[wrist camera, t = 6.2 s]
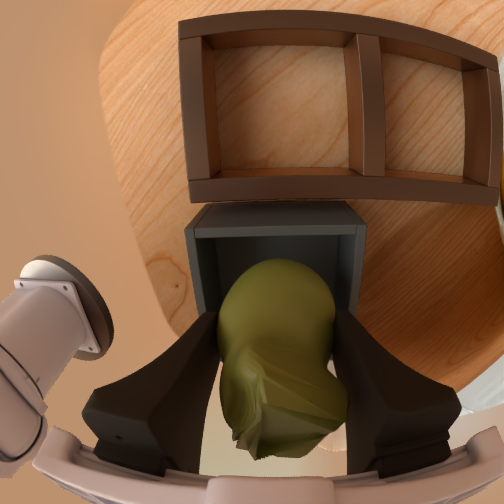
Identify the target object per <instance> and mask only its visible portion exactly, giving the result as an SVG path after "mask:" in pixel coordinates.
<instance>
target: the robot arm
mask: <svg viewBox="0 0 504 504" xmlns="http://www.w3.org/2000/svg"><path fill="white" fill-rule="evenodd" d="M14 284H15V287H16V290H14V292H12V293H11V294H10V295H9V296H8V297H6V299H4V300H3V301H2V302H1V303H0V478H12V477H13V475H14V474H15V473H16V472H17V470H18V469H19V468H20V467H21V466H23V465H24V464H25V463H26V462H28V461H30V460H32V459H33V458H34V457H35V459H34V461H33V463H32V465H33V467H35V468H36V469H37V470H38V471H40V472H41V473H42V474H43V475H45V476H46V477H47V478H49V479H50V480H51V481H53V482H54V483H55V484H57V485H58V486H60V487H61V488H63V489H64V490H66V491H68V492H70V493H72V494H75V495H76V496H78V497H81V498H83V499H85V500H87V501H89V502H91V503H93V504H456V503H459V502H461V501H463V500H465V499H467V498H469V497H471V496H473V495H475V494H477V493H479V492H481V491H482V490H484V489H485V488H487V487H488V486H489V485H491V484H492V483H494V482H495V481H496V480H498V479H499V478H500V477H501V476H503V475H504V444H503V441H502V439H501V436H500V434H499V432H498V430H497V427H496V426H493V427H490V428H488V429H486V430H484V431H481V432H479V433H477V434H476V435H474V436H473V437H472V438H470V440H469V441H468V442H467V443H466V445H463V446H461V447H458V448H455V449H453V450H450V447H449V444H448V441H447V440H448V439H449V438H450V435H449V432H448V429H449V428H450V427H451V426H452V424H453V423H454V421H455V420H456V419H457V418H458V416H459V414H460V412H461V409H462V406H461V404H460V401H459V399H458V397H457V395H456V393H455V391H454V389H453V388H451V387H449V386H446V385H443V384H441V383H438V382H436V381H433V380H431V379H429V378H427V377H425V376H423V375H421V374H420V373H418V372H416V371H414V370H413V369H411V368H410V367H408V366H407V365H405V364H404V363H402V362H401V361H399V360H398V359H397V358H395V357H394V356H393V355H392V354H390V353H389V352H388V351H387V350H386V349H384V348H383V347H382V346H381V345H380V344H379V343H378V342H377V341H376V340H375V339H374V338H373V337H372V336H371V335H370V334H369V333H368V332H367V331H366V330H365V328H364V327H363V326H362V325H361V324H360V323H359V322H358V320H357V319H356V318H355V317H354V316H353V315H352V314H351V312H350V311H349V310H343V311H335V319H334V346H333V350H332V358H333V364H334V369H335V373H336V377H337V379H338V380H339V381H340V382H341V383H342V384H343V385H344V387H345V388H346V390H347V392H348V394H349V396H350V406H349V409H348V422H345V428H346V443H347V475H345V476H336V477H327V478H324V477H313V476H310V477H309V476H304V477H249V476H217V477H216V476H206V475H200V474H199V466H200V455H201V445H202V437H203V430H204V423H205V417H206V411H207V406H208V402H209V398H210V395H211V391H212V388H213V384H214V381H215V377H216V374H217V370H218V366H219V362H220V354H219V350H218V346H217V339H216V327H217V320H218V317H217V312H204V313H203V314H202V315H201V316H200V317H199V318H198V319H197V320H196V321H195V322H194V323H193V324H192V326H191V327H190V328H189V329H188V330H187V331H186V332H185V333H184V334H183V335H182V336H181V337H180V338H179V339H178V340H177V341H176V342H175V343H174V344H173V345H172V346H171V347H170V348H168V349H167V350H166V351H165V352H164V353H163V354H161V355H160V356H159V357H157V358H156V359H155V360H153V361H152V362H151V363H149V364H147V365H146V366H144V367H143V368H141V369H139V370H138V371H136V372H134V373H133V374H131V375H129V376H127V377H125V378H123V379H121V380H118V381H116V382H114V383H111V384H108V385H106V386H103V387H100V388H97V389H95V390H94V391H93V393H92V395H91V396H90V398H89V400H88V402H87V404H86V405H85V407H84V409H83V411H82V417H83V419H84V421H85V423H86V424H87V425H88V426H89V428H90V429H91V430H92V431H93V432H94V434H95V435H96V436H97V437H98V438H99V440H98V442H97V444H96V447H95V448H91V447H89V446H86V445H84V444H82V443H81V441H80V440H79V439H78V438H77V437H76V436H74V435H73V434H71V433H69V432H67V431H65V430H62V429H60V428H57V427H55V426H52V427H51V429H50V431H49V433H48V435H47V427H48V424H47V419H46V417H45V416H44V413H45V411H46V409H47V408H48V406H47V405H46V404H45V403H44V401H43V400H44V398H45V397H46V395H47V393H48V392H49V390H50V389H51V388H52V386H53V385H54V383H55V381H56V380H57V379H58V377H59V376H60V374H61V373H62V371H63V370H64V368H65V367H66V365H67V364H68V362H69V361H70V360H71V358H72V357H73V356H74V354H75V353H76V352H77V350H83V351H88V352H93V353H99V352H100V347H99V345H98V342H97V340H96V338H95V336H94V333H93V331H92V329H91V326H90V324H89V322H88V319H87V317H86V314H85V312H84V309H83V306H82V304H81V301H80V299H79V296H78V293H77V290H76V287H75V285H74V284H73V283H72V282H70V281H51V280H34V279H18V278H17V279H15V280H14Z"/></svg>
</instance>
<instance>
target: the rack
mask: <svg viewBox="0 0 504 504" xmlns="http://www.w3.org/2000/svg"><path fill="white" fill-rule="evenodd" d="M178 39H179V41H178V49H179V75H180V94H181V109H182V123H183V136H184V148H185V158H186V169H187V178H188V180H189V181H188V187H189V196H190V203H205V202H223V201H246V200H279V199H377V200H408V201H429V202H447V203H461V204H474V205H486V206H497V205H498V198H499V190H500V189H499V188H500V181H501V170H502V154H503V110H502V94H501V84H500V75H499V69H498V62H497V57H496V56H495V55H493V54H491V53H489V52H486V51H484V50H482V49H480V48H477V47H475V46H473V45H470V44H468V43H465V42H463V41H460V40H457V39H454V38H452V37H449V36H446V35H443V34H440V33H437V32H434V31H430V30H427V29H423V28H420V27H416V26H412V25H408V24H404V23H400V22H396V21H391V20H386V19H381V18H375V17H369V16H363V15H356V14H348V13H339V12H328V11H313V10H262V11H246V12H235V13H226V14H218V15H211V16H205V17H199V18H193V19H188V20H183V21H179V22H178ZM265 45H316V46H333V47H344V48H343V50H344V60H345V72H346V85H347V103H348V133H349V168H324V167H299V168H258V169H237V170H221V161H220V148H219V134H218V119H217V104H216V88H215V70H214V51H213V50H218V49H226V48H236V47H248V46H265ZM380 52H384V53H390V54H395V55H400V56H405V57H410V58H414V59H419V60H423V61H427V62H431V63H435V64H438V65H442V66H445V67H449V68H452V69H455V70H458V71H461V72H462V79H463V90H464V107H465V154H464V171H463V177H461V176H453V175H444V174H435V173H425V172H413V171H400V170H385V103H384V85H383V72H382V62H381V53H380Z"/></svg>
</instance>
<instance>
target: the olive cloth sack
mask: <svg viewBox="0 0 504 504" xmlns="http://www.w3.org/2000/svg"><path fill="white" fill-rule="evenodd" d="M334 319H335V304H334V299H333V296H332V294H331V291H330V289H329V287H328V286H327V284H326V283H325V281H324V280H323V279H322V278H321V277H320V276H319V275H318V274H317V273H316V272H315V271H314V270H312V269H311V268H309V267H308V266H306V265H304V264H302V263H300V262H297V261H294V260H290V259H283V258H275V259H269V260H265V261H262V262H260V263H258V264H256V265H254V266H252V267H251V268H249V269H248V270H247V271H245V272H244V273H243V274H242V275H241V276H240V277H239V278H238V279H237V281H236V282H235V283H234V285H233V286H232V287H231V289H230V291H229V292H228V294H227V296H226V298H225V300H224V302H223V304H222V306H221V309H220V312H219V316H218V320H217V327H216V339H217V346H218V350H219V354H220V357H221V360H222V362H223V367H222V371H221V377H220V388H219V389H220V390H219V391H220V401H221V406H222V411H223V415H224V418H225V421H226V423H227V424H228V425H229V427H230V428H231V429H232V432H233V434H232V439H233V441H236V440H238V441H237V445H236V448H238V449H243V450H248V451H249V453H250V454H251V456H252V457H253V459H254V460H257V459H261V458H265V456H266V457H268V455H269V456H270V455H274V456H277V457H288V458H301V457H303V456H305V455H307V454H308V453H309V452H310V451H311V450H313V448H315V446H317V445H318V444H319V443H320V442H321V441H322V440H323V439H324V438H325V437H326V436H327V435H328V434H329V433H332V432H335V431H336V430H337V429H339V427H340V426H341V425H343V423H345V422H348V409H349V406H350V396H349V394H348V392H347V390H346V388H345V387H344V385H343V384H342V383H341V382H340V381H339V380H338V379H337V378H336V377H335V376H334V375H333V374H332V373H331V372H330V371H329V370H328V367H327V366H328V363H329V361H330V358H331V354H332V350H333V346H334ZM256 452H257V453H256Z"/></svg>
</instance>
